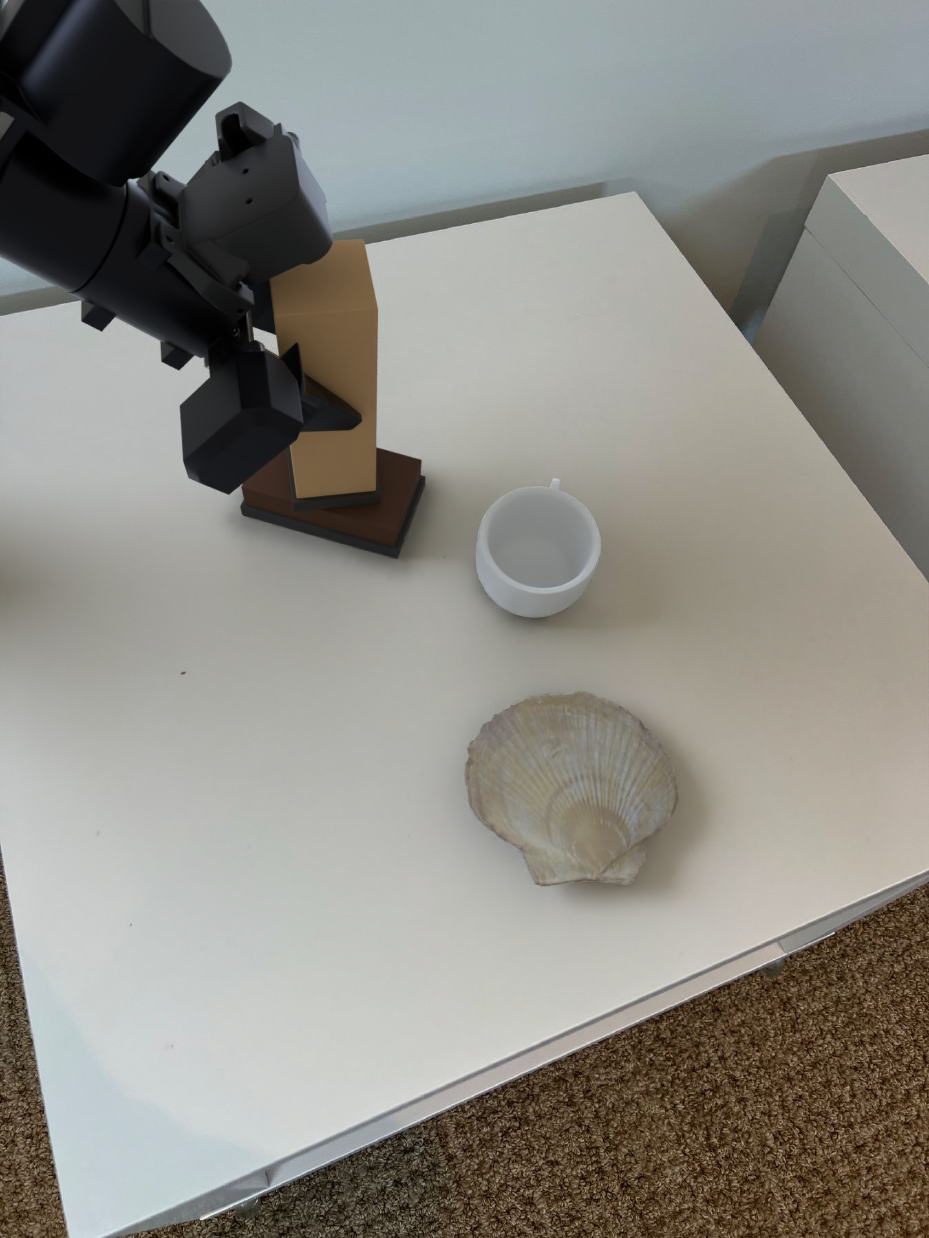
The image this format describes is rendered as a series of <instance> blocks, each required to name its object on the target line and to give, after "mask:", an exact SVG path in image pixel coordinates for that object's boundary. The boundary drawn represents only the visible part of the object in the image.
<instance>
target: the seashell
mask: <svg viewBox="0 0 929 1238" xmlns="http://www.w3.org/2000/svg"><path fill="white" fill-rule="evenodd" d="M466 751H467V754H468V755H467V759H466V761H465V762H464V770H463V771H464V773H463V774H464V782H465V784H466V792H467V801H468V805H469V808H470V809H471V811H472V813H473V815H474V817H475V818H476V819H477V820H478V821H479V822H480V823H481V825H483V826H485V827H486V828H487V829H488V830H490V831H492V832H493V833H494V834H495V835H496V836H497V837H498V838H499V839H501V840H503V841H504V842H506V843H508V844H510V845H512V847H515V848H517V849H518V850H520V852H522V853H521V854H522V858H523V860H524V862H525V864H526V867H527V869H528V872H529V874H530V876H531V879H532V881H533V883H534V885H536V886H539V887H551V886H557V885H564V884H575V883H576V884H578V883H586V882H597V883H604V884H614V885H627V886H628V885H631V884H633V883H634V882H635V878H636V877H637V875H638V873H639V872H640V868H641V867H642V866H643V865H644V863H645V862H646V860H647V850H648V849H647V846H646V842H647V840H649V839H650V838H652V837H653V836H655V835H657V834H658V833H659V832H660V831H661V830H662V829H663V828H664V827H665V826H666V824H667V823H668V821H669V819H670V818H671V817H673V815H674V813H675V812H676V809H677V807H678V804H679V802H680V782H679V779H678V775H677V771H676V769H675V767H674V765H673V763H672V760H671V758H670V757H669V755H668V753H667V752H666V750H665V748H664V747H663V746H662V744H661V743H660V741H659V740H658V738H657V736H655V734H654V733H653V732H652V731H651V730H650V729H648V728H647V727H645V725H644V723H643V722H642V721H641V720H640V719H637V718H635V717H634V716H633V715H632V713H630V711H628V710H627V709H626V708H625V707H623V706H621V705H619V704H617V703H616V702H614V701H611V700H610V699H608V698H605V697H600V696H597V695H595V694H593V693H591V692H589V691H574V692H573V693H568V694H566V693H561V692H558V693H553V694H552V693H551V694H550V693H544V694H542V695H528V696H526V697H525V698H524V699H523V700H522V701H519V702H517V703H514V704H511V705H510V706H509V707H507V708H505V709H503V710H502V711H500V712H499V713H495V714H493V715H492V717H491V719H490V720H489V721H486V722H485V723H483V724H482V725H481V727H480V729H479V731H478V734H477V735H476V737H474V738H473V739H471V740H470V741H469V743H468V746H467V747H466Z"/></svg>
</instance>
